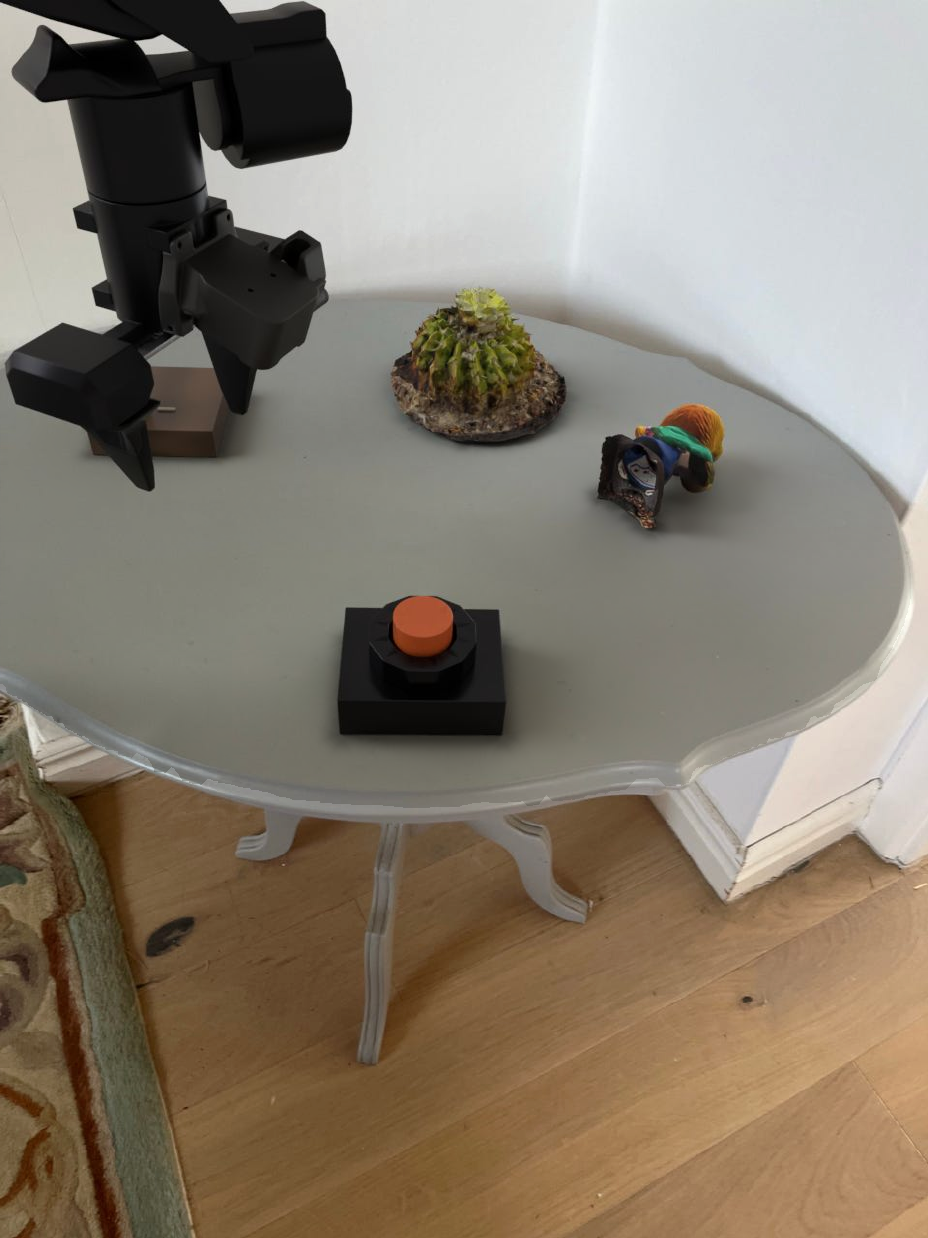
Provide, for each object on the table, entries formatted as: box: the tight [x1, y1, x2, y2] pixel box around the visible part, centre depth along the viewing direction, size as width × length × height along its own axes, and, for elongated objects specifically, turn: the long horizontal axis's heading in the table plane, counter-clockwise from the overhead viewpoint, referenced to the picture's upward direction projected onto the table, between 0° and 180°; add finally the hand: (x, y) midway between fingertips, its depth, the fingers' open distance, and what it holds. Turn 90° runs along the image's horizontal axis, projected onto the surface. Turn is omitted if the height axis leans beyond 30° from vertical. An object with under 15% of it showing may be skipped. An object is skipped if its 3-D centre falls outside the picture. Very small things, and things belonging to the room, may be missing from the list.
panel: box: [86, 365, 230, 458], centre depth 81 cm, size 12×11×3 cm
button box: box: [336, 595, 507, 737], centre depth 60 cm, size 10×8×5 cm
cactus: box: [390, 285, 568, 443], centre depth 84 cm, size 17×16×10 cm
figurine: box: [596, 403, 725, 530], centre depth 76 cm, size 11×8×6 cm, turn 122°
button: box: [393, 595, 453, 657], centre depth 58 cm, size 4×4×2 cm
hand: (194, 448), depth 58 cm, fingers open, 9 cm apart
